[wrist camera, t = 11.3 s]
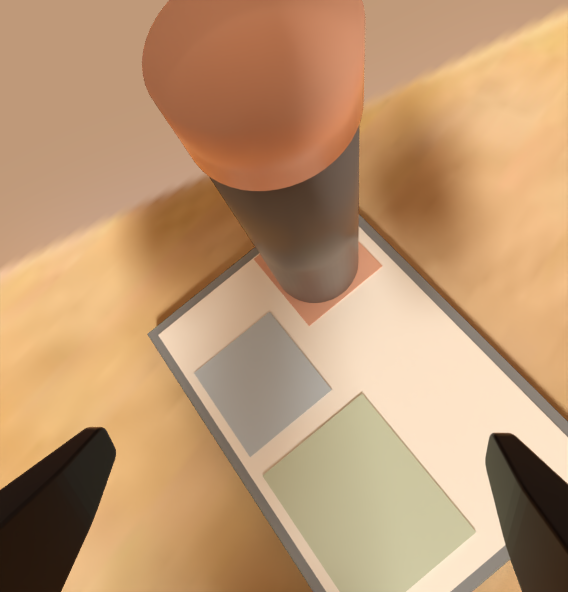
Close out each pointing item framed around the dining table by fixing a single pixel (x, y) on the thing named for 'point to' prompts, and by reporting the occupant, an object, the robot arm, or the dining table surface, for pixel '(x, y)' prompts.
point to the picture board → (360, 420)
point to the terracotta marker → (272, 123)
